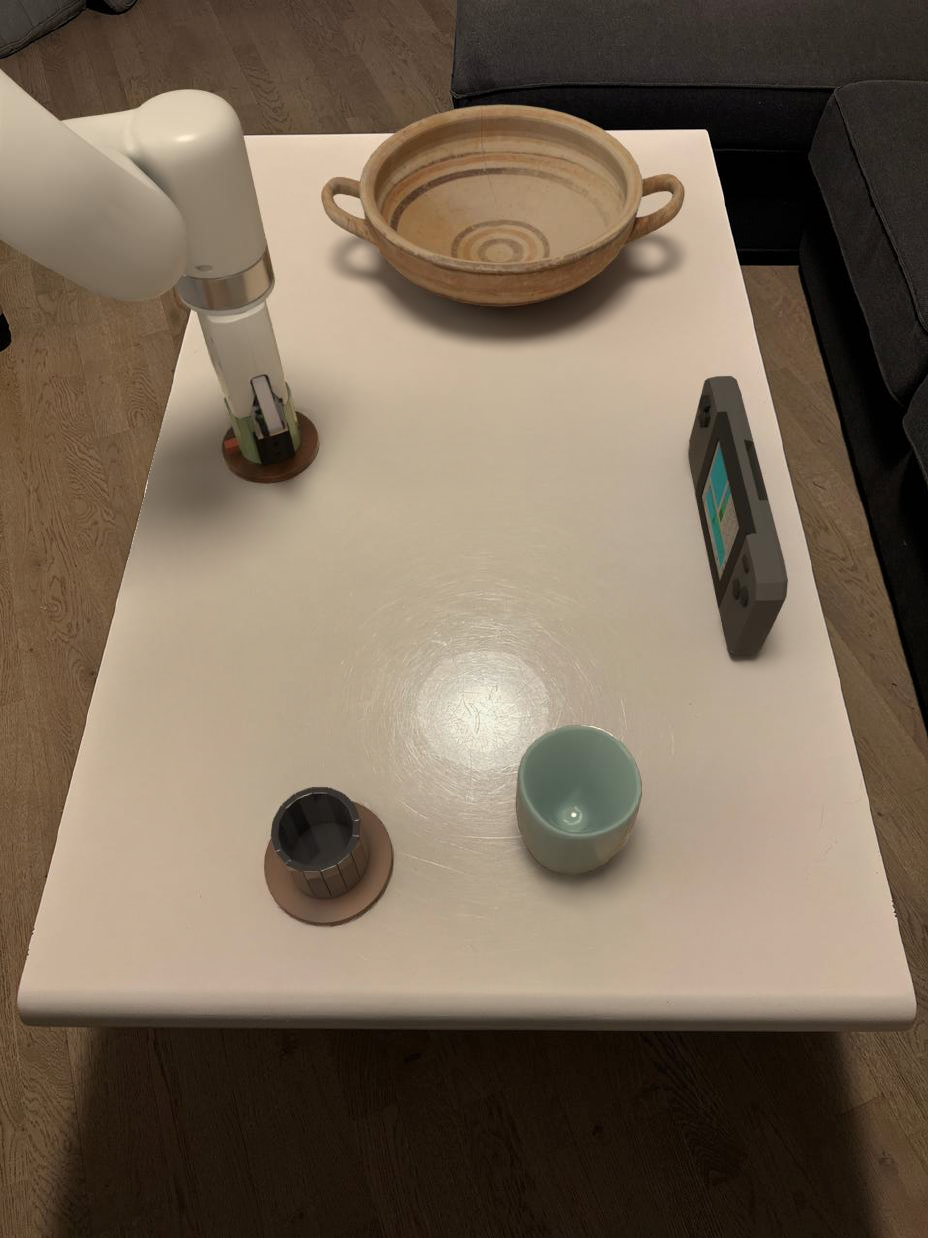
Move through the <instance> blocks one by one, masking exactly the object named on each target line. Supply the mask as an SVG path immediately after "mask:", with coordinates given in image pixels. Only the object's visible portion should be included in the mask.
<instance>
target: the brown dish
mask: <svg viewBox="0 0 928 1238" xmlns="http://www.w3.org/2000/svg"><path fill="white" fill-rule="evenodd" d="M295 412H296V416H297V421H298V425H299V429H300V436H301V441H300V445H299V447H298V449H297V450H296V451H295V453H296V455H295V457H293V458H291V459H288V460H284V461H281V462H278V463H275V464H272V465H269V466H262V464H258V463H254V462H252V461H250V460H248V459H247V458H245V457H244V456H243V455H242V453H241V452H240V450H235V451H232V452H229V453H228V452H227V450H226V447H225V444H224V441H227V440H231V439H234V438H236V437H235V434H234V431H233V428H232V425H231V426H230V427H229V428H227V431H226V432H225V435H224V436H223V438H222V442H221V452H222V456H223V461H224V462H225V465H226V466H227V468H228V469H229V470H230V471H231V472H232V473H233V474H234V475H235V476H237V477H239V478H240V479H243V480H245V481H249V482H252V483H257V484H258V483H259V484H273V483H279V482H284V481H286V480H289V479H291V478H294V477H296V476H298V475H299V474H301V473H302V472H304V471H305V470H306V469H307V468H308V467H309V466H310V465H311V464H312V463H313V461H315V458H316V457H317V454H318V452H319V446H320V439H319V433H318V430H317V428H316V425H315V424H314V423H313V421H312V420H311V419H310V418H309V417H307V416H306V415H305V414H304V413H301V412H300V411H297V410H295Z"/></svg>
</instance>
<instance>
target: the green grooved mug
mask: <svg viewBox="0 0 928 1238" xmlns="http://www.w3.org/2000/svg"><path fill="white" fill-rule="evenodd" d="M285 382H286V388H287V393H288V400H287V402H286V404H285V405H284V406H283V404H281V407H282V410H283V413H284V417H285V420H286V422H287V423H288V425H289V429H290V433H291V437H292V441H293V445H294V449H295V451H296V450H297V449H298V447H299V445H300V441H301V436H300V429H299V425H298V421H297V416H296V412H295V411H296V408H295V404H294V400H293V395H292V391H291V387H290V386H289V384H288V382H287V381H286V380H285ZM271 393H272V392H271ZM256 400H257V398H256V396H254V401H256ZM223 402H224V405H225V408H226V412H227V415H228V418H229V422H230V423H231V424H230V425H231V426H232V428H233V431H234V434H235V437H236V438H234V439H231V440H227V441H224V444H225V447H226V450H227V452H228V453H229V452H232V451H235V450H240V452H241V453H242V455H243V456H244V457H245V458H247V459H248V460H250V461H252V462H254V463H258V464H261V461H260V458H259V455H258V451H257V448H256V445H255V441H254V438H253V434H252V432H254V431H255V430H254V427H253V424H252V421H251V417H250V416H248V417H244V418H242V419H239V418H237V417H235V416H234V415H233V413H232V412H231V409H230V407H229V405H228V403H227V400H226V398H225V397H224V398H223ZM256 414H257V417H258V420H259V423H260V424H262V423H265V422H264V418H263V415H262V413H261V411H259V412H256Z"/></svg>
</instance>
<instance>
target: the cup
mask: <svg viewBox="0 0 928 1238" xmlns="http://www.w3.org/2000/svg"><path fill="white" fill-rule="evenodd" d="M519 763H520V764H519V766H518V770H517V774H516V775H517V776H516V788H515V789H516V790H515V791H516V792H515V814H516V820H517V826H518V827H517V828H518V830H519V833H520V836H521V839H522V841H523V843H524V845H525V847H526V849H527V851H528V852H529V854H530V855H531V856H532V858H533V859H534V860H535V861H536V862H537V863H538V864H539V865H540V866H541V867H542V868H545V869H546V870H548V871H550V872H552V873H554V874H555V873H556V874H559V875H562V876H576V875H577V876H578V875H583V874H587V873H590V872H593V871H595V870H598V869H599V868H602V867H603V866H604V865H606V864H607V863H608V862H609V861H611V860H612V859H613V858H614V857H615V856H616V855H617V854H618V852H619V851H620V850H621V849H622V848H623V847H624V844H625V843H626V841H627V839H628V837H629V835H630V833H631V831H632V829H633V827H634V824H635V821H636V818H637V816H638V813H639V809H640V806H641V802H642V797H643V784H642V783H643V782H642V778H641V774H640V769H639V767H638V765H637V762H636V760H635V758H634V756H633V755H632V753H631V752H630V750H629V748H627V746H625V744H624V743H623V742H622V741H621V740H620V739H619V738H617V736H615V735H614V734H613V733H611V732H609V731H607V730H606V729H604V728H602V727H598V726H594V725H590V724H589V725H588V724H573V725H565V726H562V727H558V728H555V729H552V730H550V731H548V732H546V733H544V734H542V735H541V736H540V737H538V738H536V739H535V740H534V741H533V742H532V743H531V744H530V745H529V746H528V747H527V748H526V751H525V752H524V754H523V755H522V757H521V759H520V762H519Z"/></svg>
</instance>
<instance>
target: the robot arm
mask: <svg viewBox="0 0 928 1238" xmlns="http://www.w3.org/2000/svg"><path fill="white" fill-rule="evenodd" d="M246 145H247V144H246V141H245V136H244V132H243V128H242V124H241V121H240V118H239V116H238V114H237V112H236V111H235V110H234V108H233V107H232V105H231V104H230V103H228V101H227V100H225V99H224V98H223V97H221V96H220V95H217V94H216V93H213V92H209V91H206V90H201V89H195V88H194V89H193V88H192V89H191V88H190V89H189V88H187V89H185V88H184V89H177V90H176V89H175V90H171V91H167V92H164V93H160V94H158V95H155V96H153V97H151V98H149V99H147V100H146V101H145V102H143V103H142V104H141V105H139V106H138V107H137V108H131V109H128V110H122V111H116V112H111V113H104V114H96V115H91V116H90V115H89V116H82V117H75V118H68V119H63V120H60V119H59V118H58V117H56V116H55V115H54V114H53V113H51V112H50V111H49V110H48V109H47V108H45V107H44V106H42V105H41V104H40V102H38V101H37V100H36V99H34V98H33V97H32V96H31V95H30V94H29V93H27V92H26V90H24V89H23V88H22V87H21V86H20V85H19V84H17V82H15V81H14V80H13V79H12V78H11V77H10V76H9V75H7V73H6V72H4V71H3V70H2V69H1V68H0V241H2V242H3V243H4V244H6V245H8V246H9V247H11V248H12V249H15V250H16V251H18V252H19V253H21V254H23V255H25V256H26V257H28V258H30V259H31V260H33V261H35V262H37V263H38V264H40V265H42V266H44V267H45V268H46V269H47V268H48V269H49V270H51V271H53V272H54V273H56V274H59V275H60V276H62V277H64V278H66V279H68V280H69V281H71V282H72V283H75V284H77V285H78V286H81V287H82V288H84V289H86V290H88V291H90V292H92V293H94V294H96V295H98V296H100V297H103V298H107V299H109V300H113V301H117V302H124V303H140V302H146V301H150V300H153V299H157V298H159V297H160V296H162V295H164V294H166V293H167V292H169V291H170V290H171V289H172V288H174V286H175V287H176V290H177V293H178V296H179V298H180V300H181V302H182V303H183V304H184V305H185V306H186V307H187V308H188V309H190V310H191V311H194V312H196V316H197V319H198V322H199V325H200V329H201V332H202V335H203V338H204V342H205V346H206V349H207V353H208V357H209V359H210V362H211V365H212V368H213V371H214V373H215V377H216V378H217V381H218V384H219V387H220V388H221V390H222V393H223V395H224V398H226V400H227V403H228V405H229V407H230V409H231V412H232V413H233V415H234V416H235V417H237V418H239V419H242V418H244V417H248V416H250V417H251V421H252V424H253V427H254V430H255V431H254V432H252V434H253V438H254V441H255V445H256V448H257V451H258V455H259V458H260V461H261V464H262V466H269V465H272V464H275V463H278V462H281V461H284V460H288V459H291V458H293V457H295V455H296V453H295V449H294V445H293V441H292V437H291V433H290V429H289V425H288V423H287V422H286V420H285V417H284V413H283V410H282V407H281V404H283V406H284V405H285V404H286V402H287V400H288V393H287V388H286V382H287V381H286V377H285V374H284V369H283V368H284V367H283V364H282V361H281V356H280V351H279V347H278V343H277V339H276V335H275V331H274V327H273V322H272V319H271V318H272V317H271V314H270V311H269V307H268V303H267V299H268V298H269V296H270V295H271V294H272V292H273V290H274V288H275V285H276V284H275V283H276V276H275V271H274V268H273V262H272V258H271V254H270V249H269V243H268V240H267V237H266V232H265V227H264V223H263V218H262V214H261V209H260V205H259V200H258V196H257V191H256V185H255V181H254V177H253V172H252V168H251V163H250V158H249V154H248V149H247V146H246ZM285 381H286V382H285ZM271 392H272V393H271ZM254 396H256V398H257V400H256V401H254ZM259 411H261V413H262V415H263V418H264V422H265V423H262V424H260V423H259V420H258V417H257V414H256V412H259Z"/></svg>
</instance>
